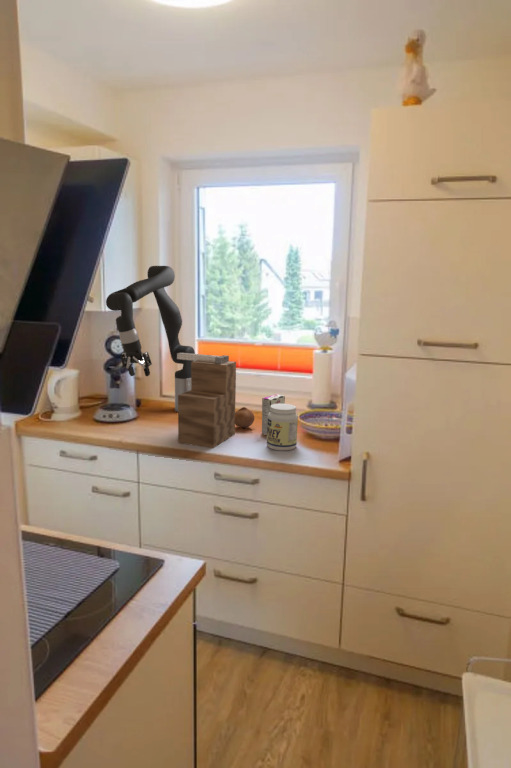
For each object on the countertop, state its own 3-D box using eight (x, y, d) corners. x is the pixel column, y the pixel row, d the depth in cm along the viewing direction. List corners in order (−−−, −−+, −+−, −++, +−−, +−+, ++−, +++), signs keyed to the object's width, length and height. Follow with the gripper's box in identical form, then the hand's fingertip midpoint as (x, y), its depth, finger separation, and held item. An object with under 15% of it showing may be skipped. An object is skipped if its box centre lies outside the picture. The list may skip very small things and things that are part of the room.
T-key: (183, 357, 223) (183, 351, 223) (228, 361, 215) (228, 355, 215) (173, 359, 216) (173, 354, 215) (220, 364, 208) (220, 358, 207)
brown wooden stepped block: (202, 429, 227) (202, 358, 221) (234, 434, 221) (236, 361, 215) (178, 442, 208) (177, 365, 202) (213, 448, 202) (214, 369, 196)
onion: (240, 432, 224) (240, 410, 222) (229, 427, 232) (229, 406, 230) (258, 429, 229) (258, 408, 227) (246, 424, 237) (247, 403, 235)
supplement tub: (260, 446, 206) (261, 405, 203) (280, 440, 215) (282, 401, 212) (282, 453, 198) (284, 411, 195) (302, 447, 206) (304, 406, 203)
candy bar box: (275, 428, 231) (276, 393, 228) (284, 430, 228) (285, 395, 225) (260, 434, 223) (261, 397, 219) (269, 436, 220) (271, 399, 216)
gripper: (148, 336, 212) (158, 372, 218) (123, 337, 219) (133, 372, 225) (137, 342, 206) (147, 379, 212) (111, 343, 213) (122, 378, 219)
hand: (140, 375), depth 218 cm, fingers open, 8 cm apart
